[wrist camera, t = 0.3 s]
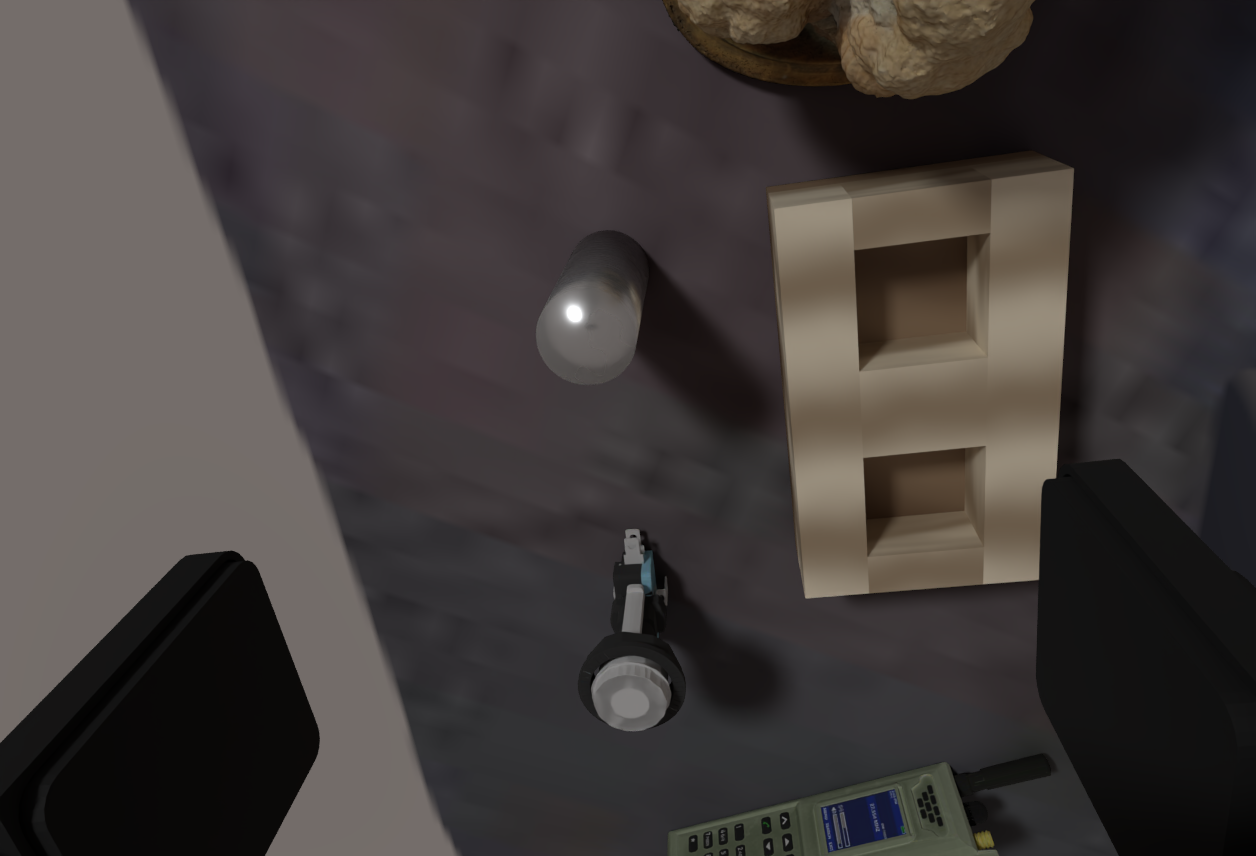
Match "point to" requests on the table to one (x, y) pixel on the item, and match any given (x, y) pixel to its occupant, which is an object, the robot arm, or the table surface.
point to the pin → (595, 310)
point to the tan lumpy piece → (857, 40)
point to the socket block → (921, 368)
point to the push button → (634, 651)
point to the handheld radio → (866, 818)
